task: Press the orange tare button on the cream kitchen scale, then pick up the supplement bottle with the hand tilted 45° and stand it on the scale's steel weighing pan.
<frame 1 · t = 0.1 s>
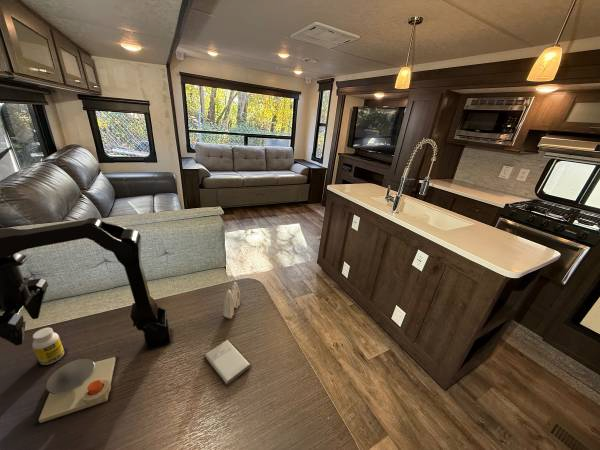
hand: (28, 330, 64), 15 cm above the table, tool pointing down, fingers open, 9 cm apart
scale pan: (75, 383, 67), resting on scale
shaker set: (231, 310, 97), on the table
hard drive: (227, 362, 77), on the table
scale: (82, 387, 66), on the table
supplement bottle: (52, 357, 73), on the table
tare button: (95, 387, 63), point 3 cm above the table, slide at 0.1 cm
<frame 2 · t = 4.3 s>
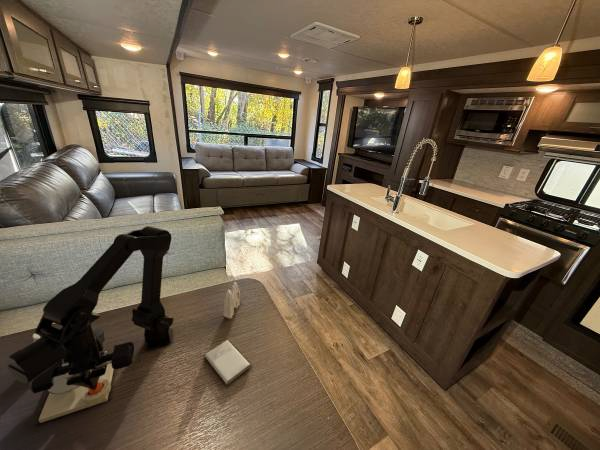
hand: (95, 387, 64), 3 cm above the table, tool pointing down, fingers closed, pressing on tare button
tare button: (95, 389, 64), point 3 cm above the table, slide at -0.8 cm, touching gripper
everything else where it was.
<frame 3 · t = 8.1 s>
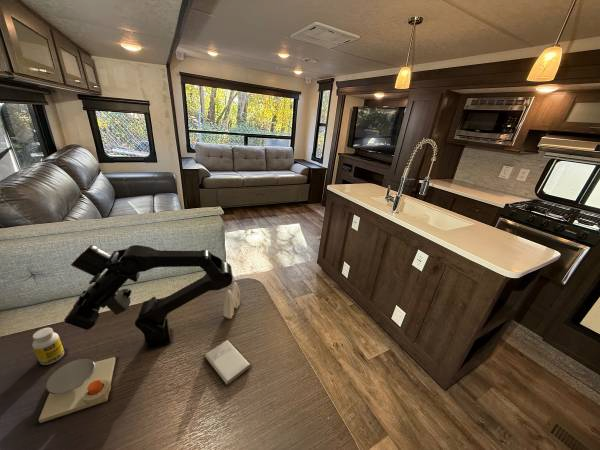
hand: (73, 319, 71), 13 cm above the table, tool tilted 45°, fingers closed
tare button: (95, 387, 63), point 3 cm above the table, slide at 0.1 cm
everything else where it was.
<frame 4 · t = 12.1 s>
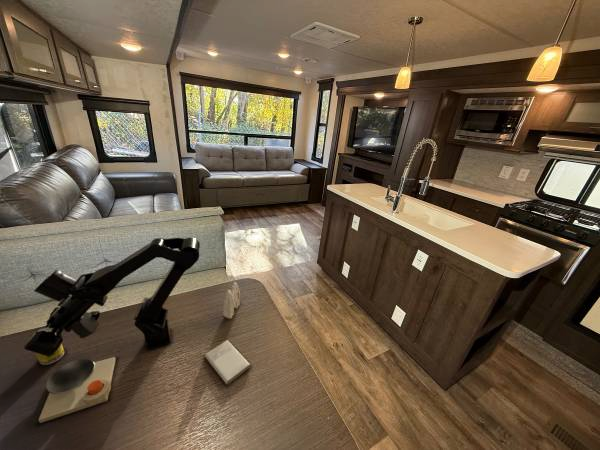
hand: (39, 342, 70), 7 cm above the table, tool tilted 45°, fingers closed on supplement bottle, 5 cm apart
supplement bottle: (52, 357, 73), on the table, touching gripper
everything else where it was.
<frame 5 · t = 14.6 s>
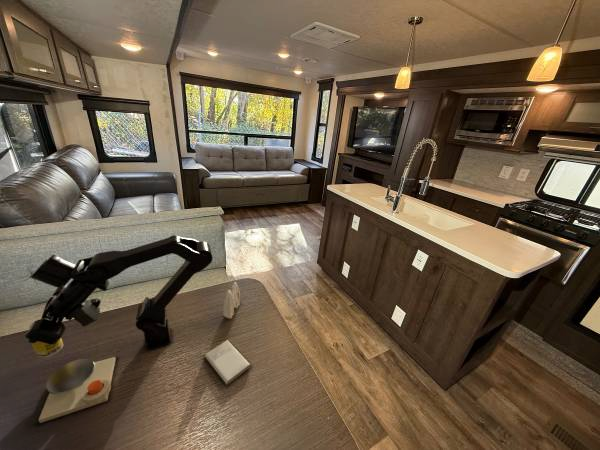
hand: (36, 334, 66), 12 cm above the table, tool tilted 45°, fingers closed on supplement bottle, 5 cm apart
supplement bottle: (51, 350, 69), point 6 cm above the table, touching gripper
everything else where it was.
when the fingers open (10 cm above the table, at t = 17.5 s): supplement bottle stays where it is, resting on scale pan.
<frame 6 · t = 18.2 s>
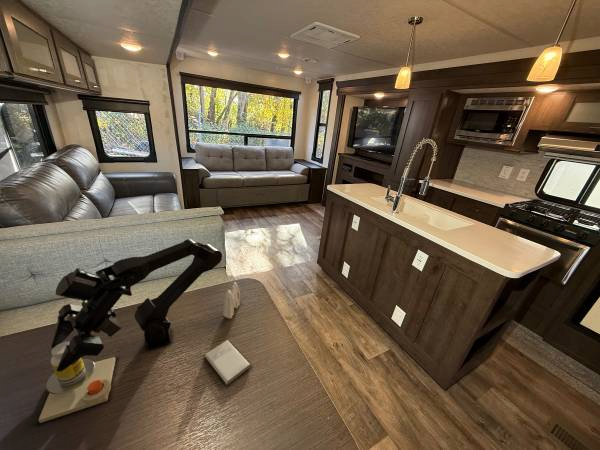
hand: (56, 358, 62), 11 cm above the table, tool tilted 45°, fingers open, 9 cm apart
supplement bottle: (72, 374, 66), point 3 cm above the table, touching scale pan
everything else where it was.
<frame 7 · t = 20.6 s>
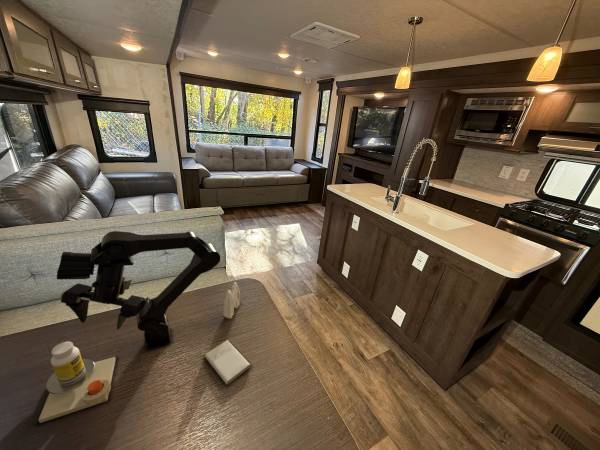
hand: (101, 325, 70), 13 cm above the table, tool tilted 15°, fingers open, 9 cm apart
nothing on the table moved.
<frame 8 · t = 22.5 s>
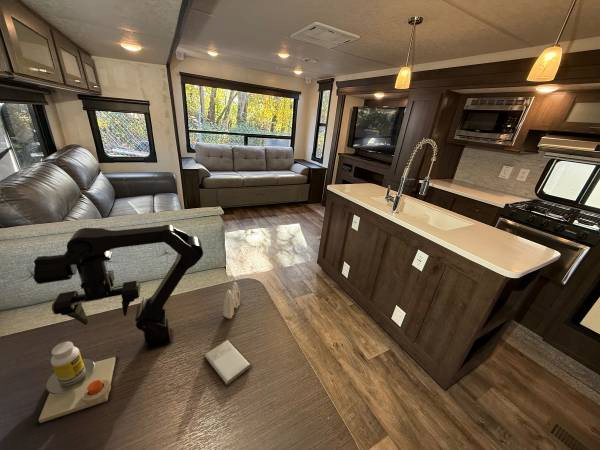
hand: (106, 319, 72), 13 cm above the table, tool pointing down, fingers open, 9 cm apart
nothing on the table moved.
at the end: tare button pushed in 1.2 cm at the most during the clip, back to where it started at the end; supplement bottle inside the target area on the scale (0.2 cm from its centre), point 3.4 cm above the scale's base; supplement bottle tilted 0° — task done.
